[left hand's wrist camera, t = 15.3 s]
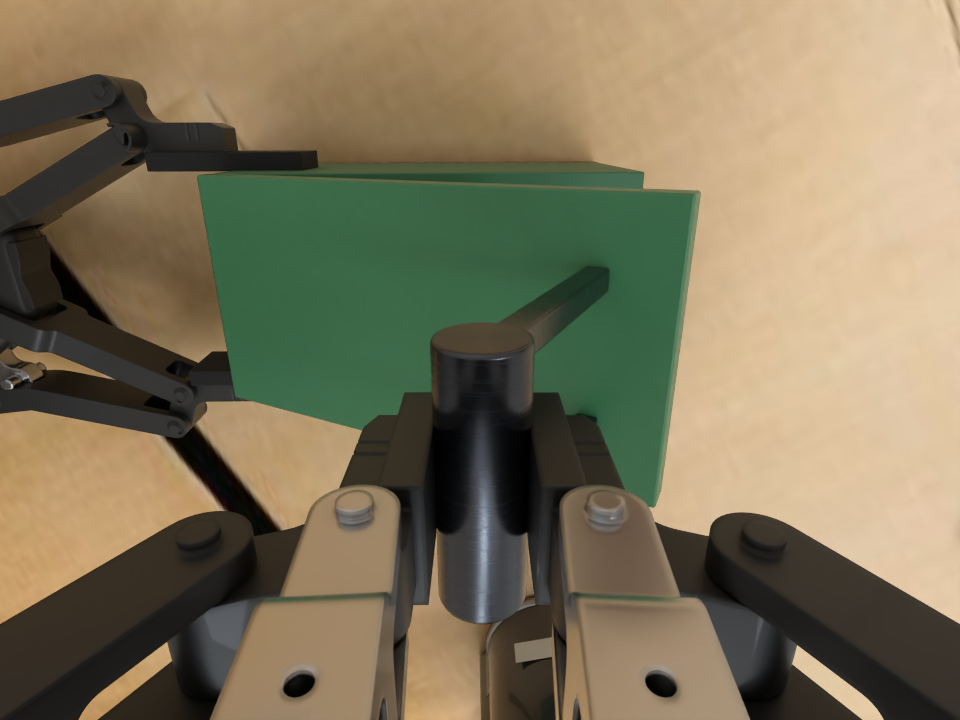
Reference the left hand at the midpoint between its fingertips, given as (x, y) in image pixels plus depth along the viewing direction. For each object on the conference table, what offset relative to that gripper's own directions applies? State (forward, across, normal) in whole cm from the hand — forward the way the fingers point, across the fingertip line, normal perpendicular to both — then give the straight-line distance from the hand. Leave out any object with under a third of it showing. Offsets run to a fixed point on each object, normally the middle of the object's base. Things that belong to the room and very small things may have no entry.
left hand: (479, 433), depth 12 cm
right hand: (+16, +8, 0) cm, 18 cm away
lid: (+9, +2, 0) cm, 9 cm away
